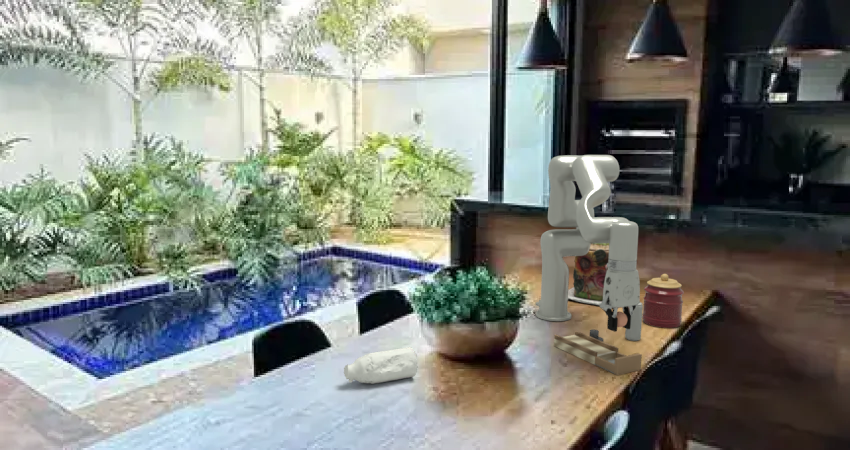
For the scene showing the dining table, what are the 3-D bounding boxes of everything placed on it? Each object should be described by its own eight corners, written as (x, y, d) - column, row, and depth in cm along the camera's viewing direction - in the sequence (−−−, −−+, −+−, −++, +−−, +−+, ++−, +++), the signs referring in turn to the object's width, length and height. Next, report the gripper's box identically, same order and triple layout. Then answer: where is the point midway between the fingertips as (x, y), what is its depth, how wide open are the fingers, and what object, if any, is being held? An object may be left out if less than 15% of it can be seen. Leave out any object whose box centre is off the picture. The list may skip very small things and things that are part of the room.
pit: (594, 364, 185) (595, 349, 185) (617, 359, 189) (618, 345, 189) (617, 375, 178) (618, 359, 177) (640, 369, 182) (641, 354, 181)
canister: (640, 325, 223) (644, 275, 220) (643, 315, 235) (646, 268, 232) (681, 330, 218) (684, 279, 216) (681, 320, 230) (685, 271, 227)
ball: (618, 330, 179) (619, 314, 178) (607, 325, 183) (608, 310, 182) (630, 328, 181) (631, 312, 180) (618, 323, 185) (619, 309, 184)
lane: (553, 345, 201) (554, 334, 200) (576, 341, 205) (576, 330, 205) (594, 364, 185) (595, 352, 185) (617, 359, 189) (618, 348, 189)
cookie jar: (578, 287, 276) (582, 213, 271) (636, 296, 262) (641, 218, 257) (554, 299, 256) (557, 219, 252) (614, 310, 242) (619, 225, 237)
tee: (580, 338, 209) (580, 329, 208) (594, 335, 211) (594, 326, 211) (593, 343, 203) (593, 334, 203) (607, 341, 206) (608, 332, 206)
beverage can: (641, 341, 206) (643, 305, 204) (625, 340, 207) (628, 304, 205) (639, 337, 211) (641, 301, 209) (624, 336, 211) (626, 300, 210)
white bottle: (340, 381, 171) (340, 353, 170) (405, 370, 179) (405, 343, 178) (350, 392, 164) (350, 362, 163) (418, 380, 172) (418, 352, 171)
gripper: (609, 270, 172) (606, 336, 175) (654, 265, 180) (650, 328, 183) (589, 265, 179) (586, 329, 181) (633, 260, 187) (630, 322, 189)
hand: (618, 328), depth 182 cm, fingers closed on ball, 4 cm apart
